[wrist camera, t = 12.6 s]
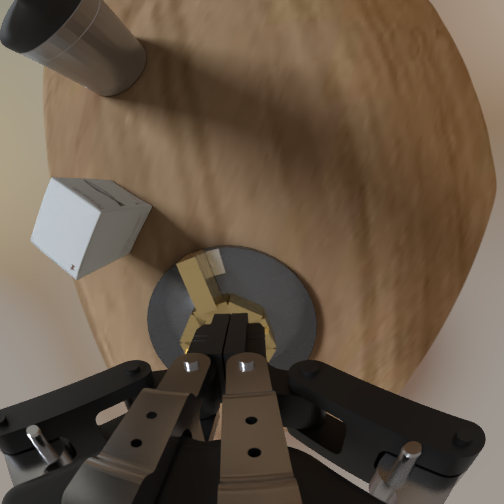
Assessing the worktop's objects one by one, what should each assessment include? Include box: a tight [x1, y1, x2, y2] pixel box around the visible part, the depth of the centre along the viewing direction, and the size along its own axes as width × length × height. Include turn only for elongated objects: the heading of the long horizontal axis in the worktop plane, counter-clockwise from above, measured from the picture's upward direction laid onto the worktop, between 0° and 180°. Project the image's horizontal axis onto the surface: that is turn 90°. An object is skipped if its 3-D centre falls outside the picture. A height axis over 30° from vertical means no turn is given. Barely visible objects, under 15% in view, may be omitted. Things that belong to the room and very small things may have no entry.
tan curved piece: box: [176, 249, 276, 363], centre depth 32 cm, size 16×11×4 cm, turn 20°
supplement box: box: [31, 177, 152, 280], centre depth 27 cm, size 7×7×13 cm
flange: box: [147, 245, 317, 370], centre depth 33 cm, size 22×22×7 cm
